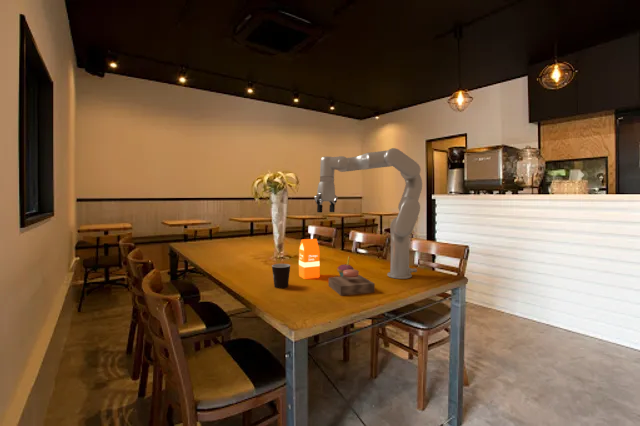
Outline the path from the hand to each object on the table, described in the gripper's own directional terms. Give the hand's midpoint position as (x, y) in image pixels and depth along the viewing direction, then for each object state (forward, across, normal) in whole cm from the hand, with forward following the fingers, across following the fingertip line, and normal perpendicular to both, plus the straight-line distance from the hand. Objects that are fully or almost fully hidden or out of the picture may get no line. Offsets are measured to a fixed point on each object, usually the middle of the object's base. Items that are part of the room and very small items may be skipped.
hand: (325, 212), depth 174 cm
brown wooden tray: (+34, +11, +27) cm, 44 cm away
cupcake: (+34, -3, +13) cm, 36 cm away
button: (+27, +11, +27) cm, 40 cm away
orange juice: (+34, +8, -3) cm, 36 cm away
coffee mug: (+35, +29, 0) cm, 45 cm away
